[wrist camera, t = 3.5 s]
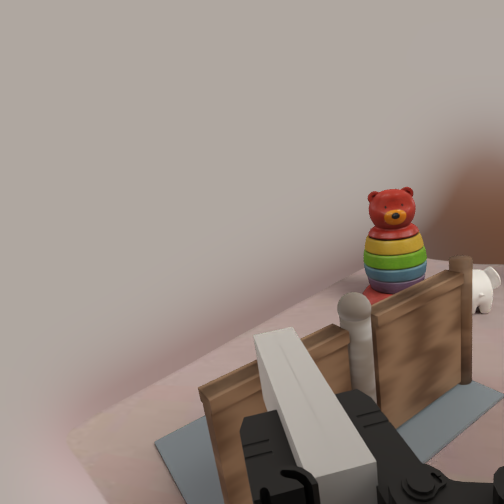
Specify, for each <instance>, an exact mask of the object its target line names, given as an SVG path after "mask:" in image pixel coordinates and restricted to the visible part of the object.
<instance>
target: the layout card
mask: <svg viewBox="0 0 504 504" xmlns="http://www.w3.org/2000/svg"><path fill="white" fill-rule="evenodd" d="M503 397H504V394H502V393H500V392H498V391H496V390H493V389H491V388H489V387H486V386H484V385H482V384H480V383H477V382H475V381H473V380H472V382H471V383H470V384H468V385H459V384H457V385H456V386H454V387H453V388H451V389H450V390H449V391H447V392H446V393H445V394H443V395H442V396H440V397H439V398H438V399H436V400H435V401H434V402H432V403H431V404H429V405H428V406H427V407H425V408H424V409H423V410H421V411H420V412H418V413H417V414H416V415H414V416H413V417H412V418H410V419H409V420H407V421H406V422H405V423H403V424H402V425H401V426H399V427H398V428H396V430H397V431H398V433H399V434H400V435H401V437H402V438H403V439H404V441H405V442H406V443H407V444H408V446H409V447H410V448H411V450H412V451H413V452H414V454H415V455H416V456H417V457H418V459H419V460H420V461H421V462H422V463H423V464H425V463H426V462H427V461H428V460H429V459H431V458H432V457H433V456H434V455H435V454H437V453H438V452H439V451H440V450H441V449H443V448H444V447H445V446H446V445H447V444H449V443H450V442H451V441H452V440H453V439H454V438H456V437H457V436H458V435H459V434H460V433H462V432H463V431H464V430H465V429H466V428H468V427H469V426H470V425H471V424H472V423H474V422H475V421H476V420H477V419H478V418H480V417H481V416H482V415H483V414H484V413H486V412H487V411H488V410H489V409H490V408H492V407H493V406H494V405H495V404H496V403H498V402H499V401H500V400H501V399H502V398H503ZM155 445H156V447H157V449H158V451H159V453H160V455H161V456H162V458H163V460H164V462H165V464H166V466H167V468H168V470H169V471H170V473H171V475H172V477H173V479H174V481H175V483H176V485H177V486H178V488H179V490H180V492H181V494H182V496H183V498H184V500H185V501H186V503H187V504H224V499H223V494H222V490H221V485H220V481H219V476H218V471H217V467H216V462H215V457H214V453H213V448H212V444H211V439H210V434H209V430H208V425H207V421H206V416H203V417H201V418H199V419H197V420H195V421H193V422H191V423H190V424H188V425H186V426H184V427H182V428H180V429H178V430H176V431H174V432H172V433H170V434H168V435H166V436H164V437H163V438H161V439H159V440H157V441H155Z"/></svg>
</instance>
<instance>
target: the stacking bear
mask: <svg viewBox="0 0 504 504" xmlns="http://www.w3.org/2000/svg"><path fill="white" fill-rule="evenodd" d="M412 196H413V190H412V189H411V188H409V187H404V188H402V189H401V190H398V189H390V190H384V191H381V192H376V191H373V192H371V193H370V194H369V195H368V201H369V202H370V205H369V215H370V218H371V220H372V222H373V223H374V225H375V226H374V227H373V228H372V229H371V230H370V231H369V234H368V236H367V238H366V243H365V250H364V267H365V271H366V274H367V276H368V280H369V283H370V285H369V286H368V287H367V288H366V289H365V291H364V292H363V295H364V296H365V297H367V299H368V300H369V302H370V304H371V305H373V304H375V303H377V302H379V301H381V300H383V299H385V298H387V297H389V296H391V295H394V294H396V293H398V292H400V291H402V290H404V289H406V288H408V287H410V286H412V285H415V284H417V283H419V282H421V281H423V280H424V277H425V272H426V265H427V260H426V259H427V256H426V250H425V247H424V245H423V240H422V237H421V234H420V233H419V230H418V228H417V227H416V226H415V225H414V224H412V223H411V221H412V220H413V218H414V214H415V202H414V200H413V198H412Z"/></svg>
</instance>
